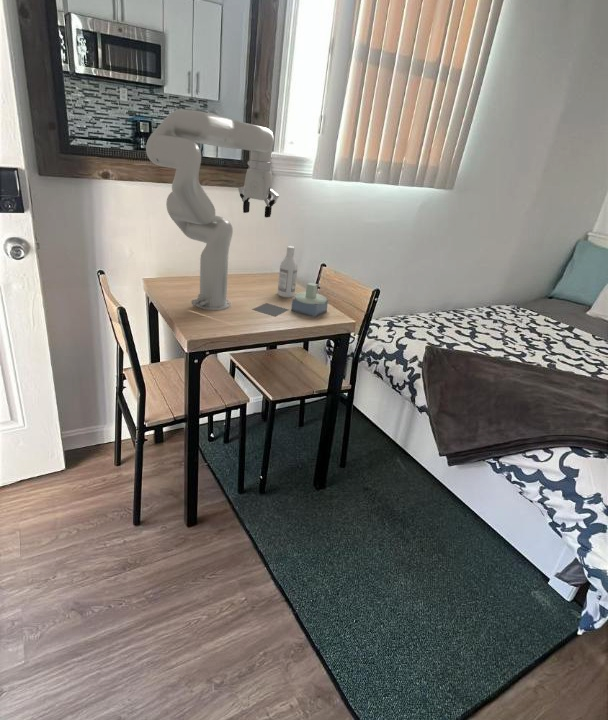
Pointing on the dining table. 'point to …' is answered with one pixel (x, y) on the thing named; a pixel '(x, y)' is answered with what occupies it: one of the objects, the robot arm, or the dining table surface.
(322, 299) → the lid
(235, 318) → the dining table surface
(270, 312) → the mat
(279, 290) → the bath foam
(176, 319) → the dining table surface
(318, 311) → the dish
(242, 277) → the dining table surface
